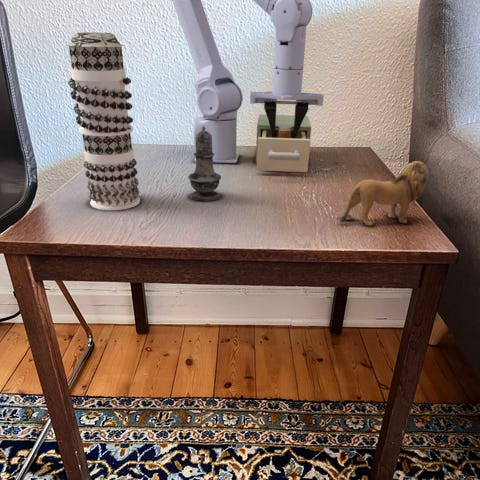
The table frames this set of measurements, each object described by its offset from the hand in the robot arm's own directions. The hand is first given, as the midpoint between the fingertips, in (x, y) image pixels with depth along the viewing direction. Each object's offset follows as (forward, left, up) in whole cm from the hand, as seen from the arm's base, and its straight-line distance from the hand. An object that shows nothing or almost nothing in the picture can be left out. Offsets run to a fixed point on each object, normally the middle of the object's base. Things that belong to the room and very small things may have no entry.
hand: (283, 141), depth 98 cm
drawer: (0, -1, -5) cm, 5 cm away
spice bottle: (0, 0, -1) cm, 1 cm away
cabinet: (0, +11, -6) cm, 12 cm away
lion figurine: (+16, -28, -6) cm, 33 cm away
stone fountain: (-14, -20, -6) cm, 25 cm away
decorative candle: (-29, -25, -6) cm, 39 cm away
